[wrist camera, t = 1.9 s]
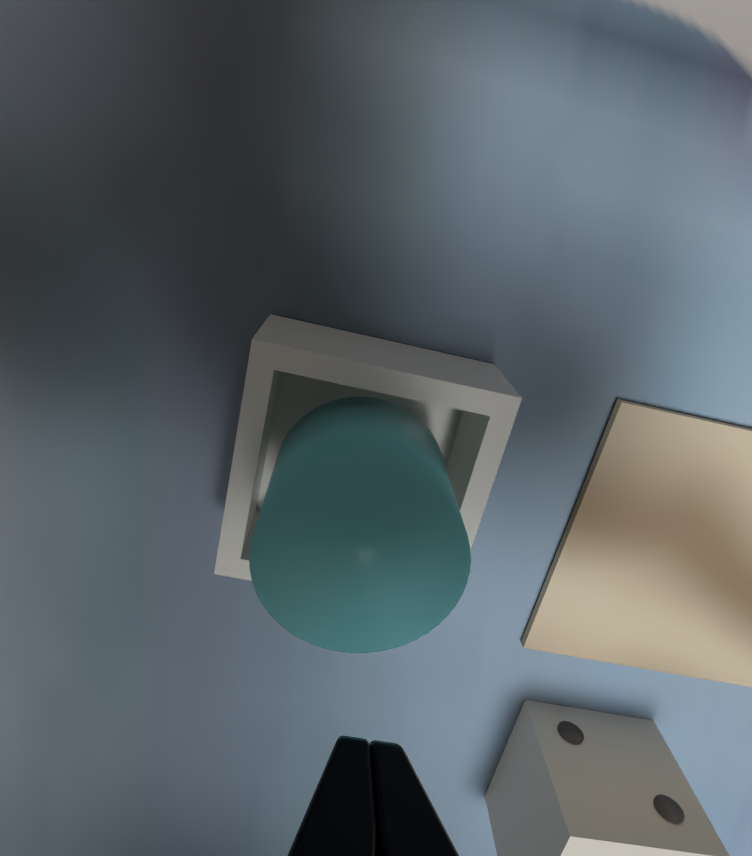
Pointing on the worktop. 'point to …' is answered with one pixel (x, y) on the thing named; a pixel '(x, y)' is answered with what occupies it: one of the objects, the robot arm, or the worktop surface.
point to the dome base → (360, 377)
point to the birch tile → (657, 551)
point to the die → (593, 789)
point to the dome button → (359, 530)
